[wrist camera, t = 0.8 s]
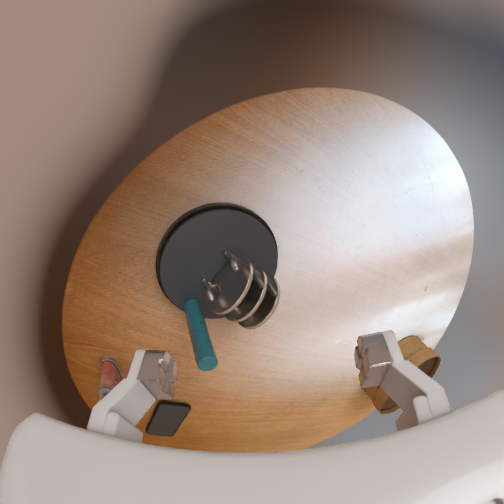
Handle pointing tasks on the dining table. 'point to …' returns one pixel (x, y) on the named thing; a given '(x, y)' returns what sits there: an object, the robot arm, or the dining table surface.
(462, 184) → the dining table surface
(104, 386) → the lighter
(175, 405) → the smartphone
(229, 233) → the dish rack
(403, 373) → the robot arm
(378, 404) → the steamer basket
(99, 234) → the dining table surface
